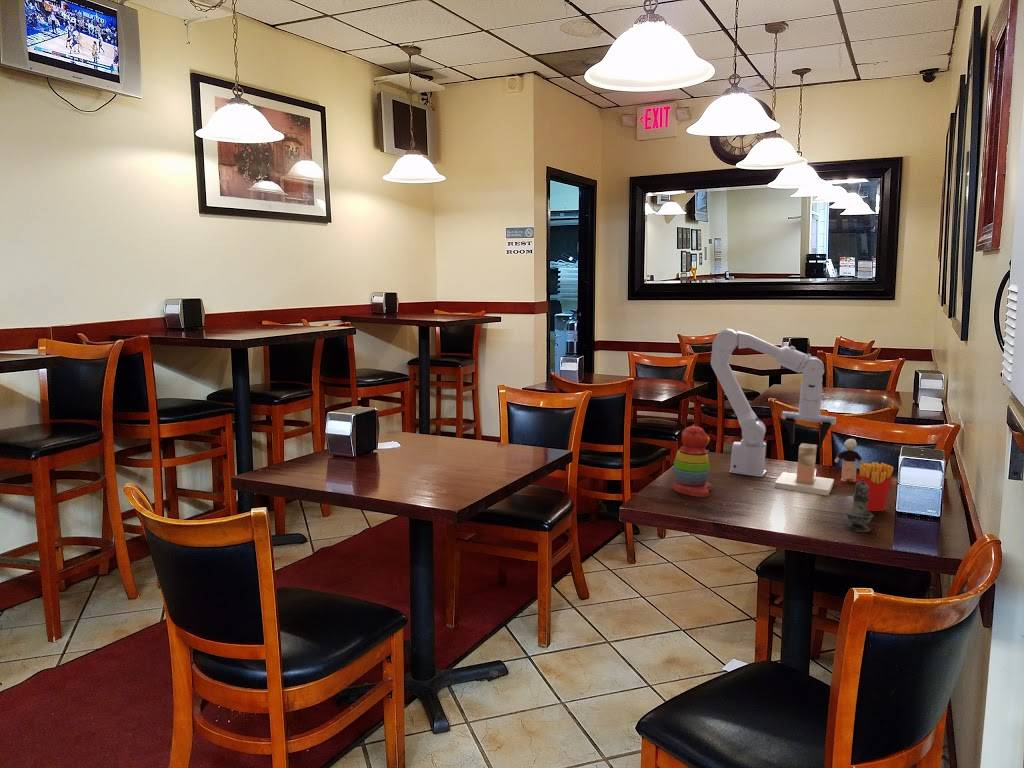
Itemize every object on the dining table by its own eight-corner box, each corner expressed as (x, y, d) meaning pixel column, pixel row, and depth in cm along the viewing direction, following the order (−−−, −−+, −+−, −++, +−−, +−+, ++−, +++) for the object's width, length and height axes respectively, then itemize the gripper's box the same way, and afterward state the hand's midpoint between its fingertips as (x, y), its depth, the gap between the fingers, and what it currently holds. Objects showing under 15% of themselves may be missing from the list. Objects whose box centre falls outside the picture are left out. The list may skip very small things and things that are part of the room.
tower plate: (774, 487, 215) (775, 482, 215) (782, 476, 227) (783, 471, 227) (828, 495, 208) (829, 490, 208) (833, 484, 221) (834, 478, 220)
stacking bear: (708, 498, 202) (713, 431, 199) (669, 493, 205) (673, 427, 203) (712, 488, 212) (717, 424, 209) (675, 483, 215) (679, 421, 213)
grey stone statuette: (839, 523, 184) (844, 475, 182) (863, 524, 185) (868, 475, 183) (852, 532, 178) (857, 481, 177) (876, 532, 179) (881, 482, 177)
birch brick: (797, 464, 215) (799, 446, 214) (800, 460, 220) (802, 443, 220) (812, 466, 213) (814, 448, 212) (815, 462, 218) (816, 444, 218)
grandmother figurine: (858, 480, 226) (862, 438, 224) (862, 483, 222) (867, 440, 221) (831, 478, 227) (835, 436, 225) (835, 482, 223) (839, 439, 221)
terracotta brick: (796, 481, 216) (797, 464, 215) (798, 477, 221) (800, 460, 220) (811, 483, 214) (813, 466, 213) (813, 479, 219) (815, 462, 218)
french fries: (859, 511, 195) (864, 465, 193) (851, 506, 199) (856, 461, 197) (891, 511, 196) (896, 465, 194) (883, 507, 199) (888, 462, 198)
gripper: (781, 398, 222) (777, 444, 224) (835, 404, 215) (831, 451, 217) (785, 395, 228) (781, 440, 230) (838, 401, 221) (834, 447, 223)
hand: (806, 445), depth 224 cm, fingers open, 7 cm apart
